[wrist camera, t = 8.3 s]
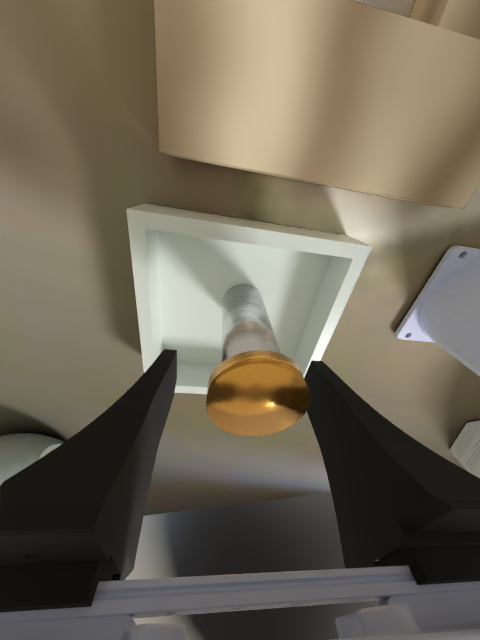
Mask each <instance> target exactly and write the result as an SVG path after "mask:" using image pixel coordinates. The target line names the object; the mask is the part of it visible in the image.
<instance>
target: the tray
mask: <svg viewBox="0 0 480 640" xmlns="http://www.w3.org/2000/svg"><path fill="white" fill-rule="evenodd" d="M126 211H127V220H128V230H129V239H130V248H131V258H132V267H133V276H134V285H135V295H136V304H137V313H138V323H139V332H140V341H141V351H142V360H143V369H144V373H145V372H146V371H147V369H148V368H149V367H150V366H151V365H152V364H153V362H154V361H155V360H156V359H157V357H158V356H159V355H160V353H161V352H162V351H163V350H164V349H170V350H177V381H176V386H175V391H174V392H177V393H196V394H207V389H208V381H209V378H210V376H211V374H212V372H213V371H214V369H215V368H216V367H217V366H218V365H219V364H221V363H222V306H223V297H224V295H225V293H226V292H227V290H228V289H230V288H231V287H233V286H235V285H238V284H249V285H252V286H254V287H255V288H257V289H258V290H259V292H260V293H261V295H262V298H263V301H264V304H265V307H266V310H267V313H268V317H269V320H270V323H271V326H272V329H273V332H274V335H275V338H276V341H277V344H278V347H279V350H280V353H281V354H283V355H285V356H287V357H289V358H290V359H292V360H293V361H294V362H295V363H296V364H297V365H298V366H299V368H300V370H301V372H302V375H303V377H305V375H306V373H307V370H308V368H309V366H310V363H311V361H320V360H321V358H322V356H323V353H324V351H325V349H326V347H327V345H328V342H329V340H330V338H331V336H332V334H333V331H334V329H335V327H336V325H337V323H338V320H339V318H340V316H341V314H342V312H343V310H344V307H345V305H346V303H347V301H348V299H349V296H350V294H351V292H352V290H353V288H354V285H355V283H356V281H357V279H358V277H359V274H360V272H361V270H362V268H363V266H364V264H365V261H366V259H367V257H368V255H369V253H370V250H371V248H372V246H370V245H368V244H365V243H363V242H361V241H359V240H357V239H354V238H352V237H350V236H348V235H342V234H336V233H330V232H323V231H317V230H311V229H304V228H298V227H292V226H285V225H279V224H273V223H266V222H260V221H254V220H247V219H241V218H235V217H228V216H222V215H216V214H209V213H203V212H197V211H190V210H184V209H178V208H171V207H165V206H159V205H152V204H146V203H145V204H141V205H138V206H134V207H131V208H127V209H126Z"/></svg>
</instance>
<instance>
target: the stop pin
mask: <svg viewBox="0 0 480 640" xmlns="http://www.w3.org/2000/svg"><path fill="white" fill-rule="evenodd" d="M309 404H310V392H309V389H308V387H307V385H306V382H305V380H304V377H303V375H302V372H301V370H300V368H299V366H298V365H297V364H296V363H295V362H294V361H293V360H292V359H290V358H289V357H287V356H285V355H283V354H281V353H280V350H279V347H278V344H277V341H276V338H275V335H274V332H273V329H272V326H271V323H270V320H269V317H268V313H267V310H266V307H265V304H264V301H263V298H262V295H261V293H260V292H259V290H258V289H257V288H255V287H254V286H252V285H249V284H238V285H235V286H233V287H231V288H230V289H228V290H227V292H226V293H225V295H224V297H223V306H222V363H221V364H219V365H218V366H217V367H216V368H215V369H214V371H213V372H212V374H211V376H210V378H209V381H208V389H207V402H206V410H207V414H208V416H209V418H210V419H211V421H212V422H213V423H214V424H215V425H216V426H218V427H219V428H221V429H223V430H225V431H227V432H230V433H233V434H237V435H244V436H259V435H267V434H271V433H275V432H278V431H281V430H283V429H285V428H287V427H289V426H291V425H293V424H294V423H295V422H297V421H298V420H299V419H300V418H301V417H302V416H303V415H304V414H305V412H306V411H307V409H308V407H309Z"/></svg>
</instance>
